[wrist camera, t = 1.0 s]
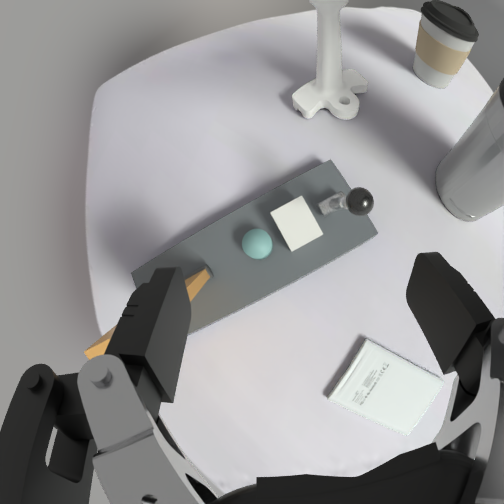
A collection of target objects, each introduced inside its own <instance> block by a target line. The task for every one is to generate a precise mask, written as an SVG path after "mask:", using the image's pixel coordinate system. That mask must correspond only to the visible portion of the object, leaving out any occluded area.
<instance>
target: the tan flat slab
mask: <svg viewBox="0 0 504 504" xmlns="http://www.w3.org/2000/svg"><path fill="white" fill-rule="evenodd" d="M213 277H214V275H213V272H212V270H211V268H210V267H209V266H208V265H207V264H206V265H204V266H203V267H201V268H199V269H197V270H196V271H194V272H192V273H190V274H188V275H187V276H185V277H184V280H185V284H186V288H187V292H188V295H189V299H190V302H191V301H192V299H193V298H194V297H195V296H196V294H197V293H198V292H199V290H200V289H201V288H202V287H203V285H204V284H205V283H206V282H207V281H208V280H210V279H212V278H213ZM116 326H117V325H116ZM116 326H114V327H113V328H112V329H111V330H110V331H108V332H107V333H106V334H105V335H103V336H102V337H101V338H100V339H99V340H97V341H96V342H95V343H94V344H93V345H91V346H90V347H89V348H88V349H87V350H86V351H85V352H84V353H85V354H86V356H87V357H88V359H89V360H90V359H92V358H94V357H96V356H99V355H104V353H105V350H106V348H107V346H108V344H109V341H110V339H111V337H112V335H113V332H114V330H115V328H116Z"/></svg>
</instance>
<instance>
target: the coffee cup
mask: <svg viewBox="0 0 504 504" xmlns="http://www.w3.org/2000/svg"><path fill="white" fill-rule="evenodd" d="M421 12H422V16H421V20H420V23H419V30H418V36H417V42H416V48H415V49H416V53H415V58H414V63H413V70H414V72H415V74H416V75H417V76H418V77H419V78H420V79H421V80H422V81H423V82H425V83H426V84H428V85H430V86H432V87H435V88H438V89H444V88H446V87H447V86H448V85H449V83H450V82H451V80H452V78H453V77H454V75H455V74H457V72H458V71H459V69H460V68H461V66H462V64H463V63H464V61H465V59H466V58H467V56H468V55H469V53H470V51H471V47H472V45H473V44H474V42H476V41H477V37H478V35H479V34H478V31H477V29H476V28H475V26H474V23H473V21H472V20H471V17H470V16H469V14H468V13H466V12H465V11H464V10H463V9H461V8H459V7H456V6H452V5H450V4H448V3H445V2H443V1H439V0H432V1H431V2H425V3H424V4H423V7H422V8H421Z"/></svg>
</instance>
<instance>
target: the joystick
mask: <svg viewBox="0 0 504 504" xmlns="http://www.w3.org/2000/svg"><path fill="white" fill-rule="evenodd" d="M348 1H349V0H309V2H310V3H311V4H313V5H314V6H315V7H316V9H317V70H316V78H315V79H313V80H311V81H310V82H308V83H306V84H305V85H303V86H302V87H301V88H299V89H298V90H297V91H296V92H295V93H294V94H293V95H292V100H293V107H294V108H295V109H296V111H298V110H300V111H301V113H302V114H303V117H304V118H307V119H310V118H312V117H313V116H314V114H315V113H316V112H317V111H318V110H319V109H321V108H327V109H329V110H330V112H331V113H332V114H333V115H334V116H335V117H337V118H339V119H343V120H349V119H352V118H354V117H355V116H356V115H357V113H358V109H359V99H358V97H357V96H356V95H355V94H356V93H365V92H366V91H367V86H368V81H367V80H366V79H365V78H364V77H362V76H361V75H360V74H359V73H358V72H357V71H355V70H353V69H347V70H342V49H341V29H340V14H339V13H340V10H341V8H343V7H344V6H345V5H346V4H347V3H348Z"/></svg>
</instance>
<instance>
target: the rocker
mask: <svg viewBox="0 0 504 504" xmlns="http://www.w3.org/2000/svg"><path fill="white" fill-rule="evenodd" d="M270 213H271V216H272V217H273V219H274V221H275V223H276V225H277V226H278V228H279V230H280V232H281V234H282V236H283V237H284V239H285V241H286V243H287V245H288V247H289V248H290V250H291V252H292V251H294V250H296V249H298V248H300V247H301V246H303V245H305V244H307V243H309V242H311V241H312V240H314V239H316V238H318V237H320V236H321V235H323V233H322V231H321V229H320V227H319V225H318V223H317V222H316V220H315V218H314V216H313V214H312V213H311V211H310V209H309V207H308V205H307V204H306V202H305V200H304V198H303V197H302V196H300V197H298V198H296V199H294V200H292V201H291V202H289V203H287V204H285V205H283V206H281V207H280V208H278V209H276V210H274V211H272V212H270Z"/></svg>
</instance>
